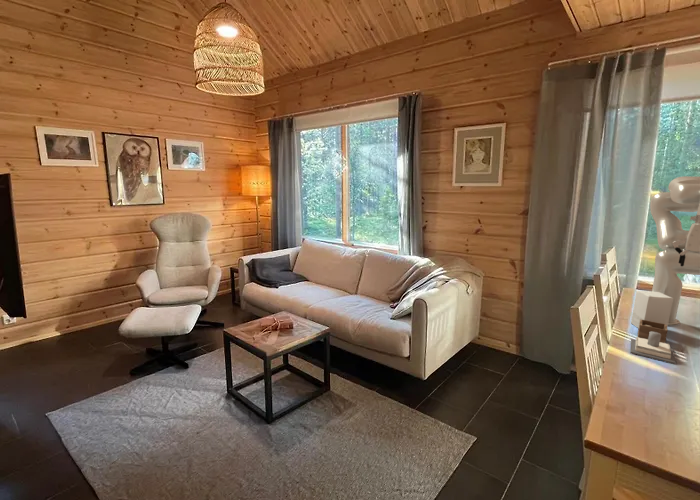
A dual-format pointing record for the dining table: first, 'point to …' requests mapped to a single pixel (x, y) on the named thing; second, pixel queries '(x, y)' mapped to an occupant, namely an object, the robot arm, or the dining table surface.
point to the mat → (633, 345)
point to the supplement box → (651, 307)
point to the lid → (653, 345)
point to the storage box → (652, 329)
